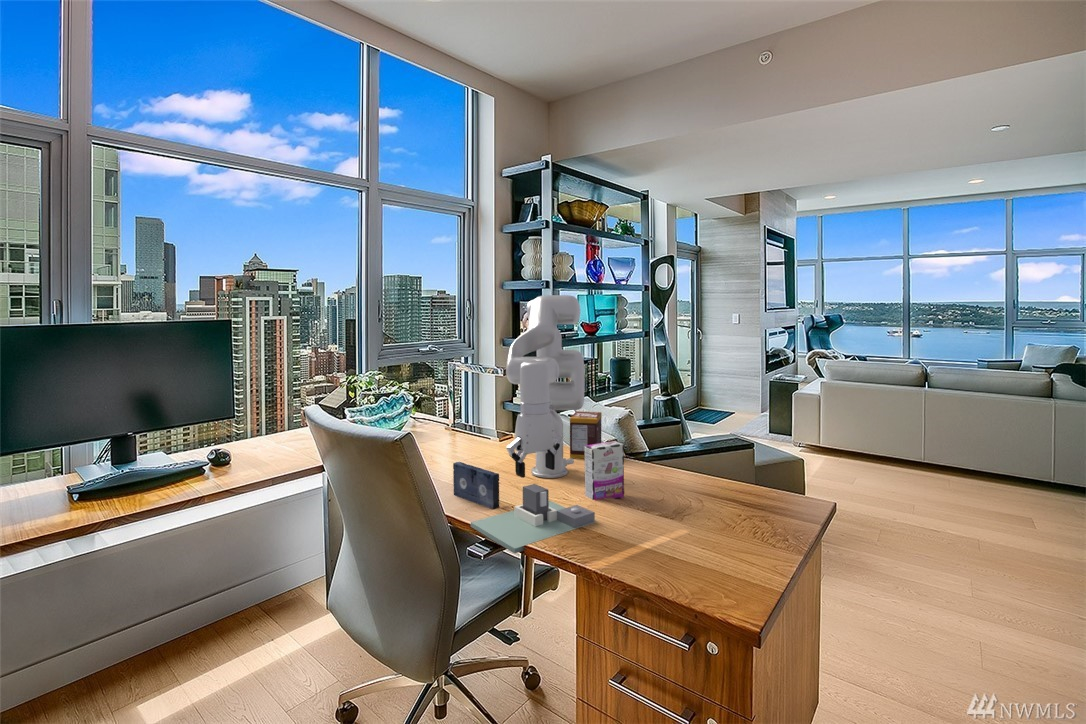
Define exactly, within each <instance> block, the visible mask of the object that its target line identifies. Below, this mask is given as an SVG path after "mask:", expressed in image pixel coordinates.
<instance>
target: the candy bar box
mask: <svg viewBox="0 0 1086 724" xmlns="http://www.w3.org/2000/svg"><path fill="white" fill-rule="evenodd" d="M624 448H625V445H624V443H622V442H620V441H617V440H612V441H607V442H606V441H605V442H601V443H598V444H592V445H586V446H585V459H584V495H585V497H587V498H589V499H591V500H592V501H593V500H601V499H605V498H612V499H615V500H617V499H618V500H619V499H622V498H624V497H625V472H624V471H625V453H624V451H625V449H624Z"/></svg>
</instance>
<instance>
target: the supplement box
mask: <svg viewBox="0 0 1086 724" xmlns="http://www.w3.org/2000/svg"><path fill="white" fill-rule="evenodd" d="M602 413H603V412H602V411H583V410H577V411H576V410H575V412H574V413H573V414H572V415H571V417H569V459H571V458H572V459H577V460H578V459H580V460H581V459H582V460H583V459H584V460H585V446H586V445H592V444H598V443H602Z"/></svg>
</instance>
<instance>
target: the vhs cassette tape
mask: <svg viewBox="0 0 1086 724" xmlns="http://www.w3.org/2000/svg"><path fill="white" fill-rule="evenodd" d="M452 469H453V470H452V471H453V479H452V480H453V484H452V485H453V496H454V497H455V496H456V497H458V498H461V499H464V500H466V501H469V502H472V503H475V504H478V505H480V506H482V507H486V508H487V509H488V508H489V509H491V510H495V509H498V508H500V482H499V481H500V474H499V473H496V472H495V471H491V470H488V469H484V468H481V467H479V466H475V465H472V464H468V463H464V462H462V461H456V462H453V464H452Z"/></svg>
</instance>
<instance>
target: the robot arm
mask: <svg viewBox="0 0 1086 724" xmlns="http://www.w3.org/2000/svg"><path fill="white" fill-rule="evenodd" d="M526 313H527V317H528V323H527V325H528V326H527V329H526V330H525V331H524V332H523V333H522V334H520V335H518V336H517V338H516V339H514V341H513V342H512V343H511V344H510V347H509V349H508V354H507V360H506V367H505V374H506V379H507V380H508V382H509V383H511V384H513V385H519V391H520V392H519V394H520V395H519V396H520V397H519V399H520V400H519V401H520V405H519V407H520V413H518V414H517V417H516V421H515V429H514V440H513V441H512V442H510V444H508V445H507V446H506V450H507V452H508V454H509V457H511V459H513V461H514V462H515V470H514V471H515V475H516V476H517V477H520V478H522V479H523V478H525V477H526V463H525V461H524V460H525V459H526V457H527V455H531V454H535V466H533V467H532V468H531V470H530V473H531V475H532V476H534V477H538V478H543V479H544V478H545V479H555V478H561V477H565V476H566V475H568V473H569V470H568V468H567V466H568V465H573V464H575V460H574V458H565V457H564V421H563V419H562V417H561V416H560V414H558V413H557V411H576V410H577V411H579V410H581V409H582V408H583V406H584V403H585V362H584V361H585V360H584V357H583V354H582V353H581V351H579V350H577V349H563V348H562V339H563V338H562V337H563V336H562V334H561V332H560V330H559V329H558V327H557V326H558V325H576V324H577V323H578V322H579V321H580V318H581V305H580V302H579V300H578V298H576V297H575V296H573V295H569V294H568V295H567V294H566V295H565V294H562V295H560V294H559V295H558V294H555V295H554V294H553V295H551V294H550V295H549V294H548V295H547V294H545V295H538V296H536V298H534V299H531V300H530V301H528V302H527V304H526ZM532 352H536V356H525V355H528V354H529V353H532ZM557 379H569V380H570V381H557Z"/></svg>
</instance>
